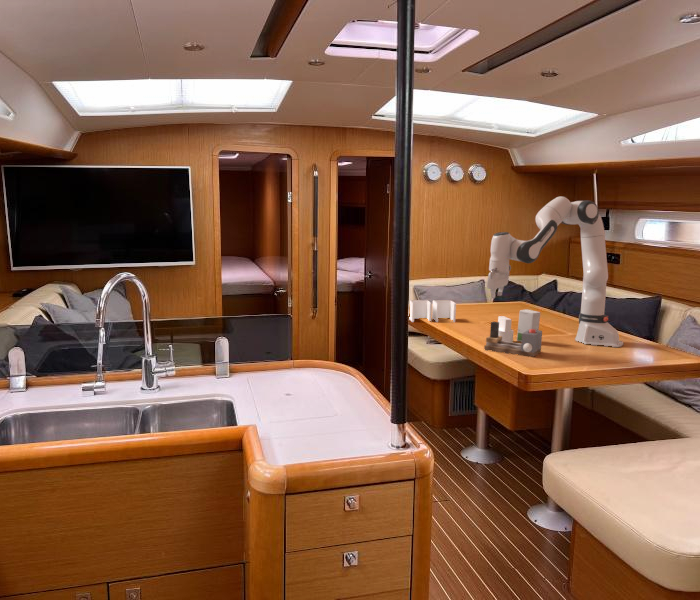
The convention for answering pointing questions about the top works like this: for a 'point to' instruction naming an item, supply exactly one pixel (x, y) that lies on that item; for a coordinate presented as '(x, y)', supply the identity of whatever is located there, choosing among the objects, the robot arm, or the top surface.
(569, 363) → the top surface
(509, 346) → the rail board
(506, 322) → the base with upright slab
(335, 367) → the top surface
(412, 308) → the white slotted rack
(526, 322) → the skincare box
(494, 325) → the carriage
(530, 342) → the end cabinet
